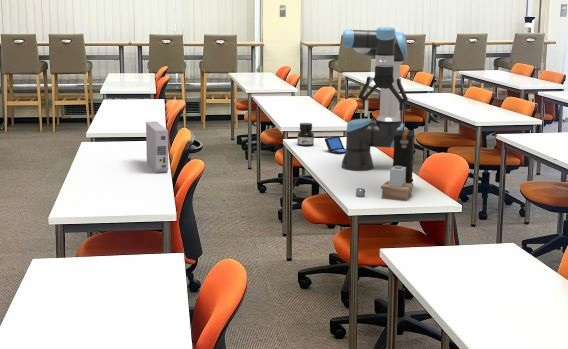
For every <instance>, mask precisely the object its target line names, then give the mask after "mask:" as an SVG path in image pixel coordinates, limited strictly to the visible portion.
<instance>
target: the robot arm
mask: <svg viewBox="0 0 568 349" xmlns="http://www.w3.org/2000/svg"><path fill="white" fill-rule="evenodd" d="M341 40H342V41H341V42H342V47H343V48H348V49H353V50H354V51H355V52H356V53H358V54H361V55H363V56H366V57H371V58H372V57H373V58H375V60H374V63H375V64H374V65H375V67H374V77H373V76H370V75H369V76H367V77H366V82H365V84H364V86H363V87H362V89H361V91H360V93H359V95H358V99H360V100H362V109H364V117H368V116H369V99H368V98H370V96H371V95H372V94H373V93H374V91H376V89H380V95H379V97H380V99H379V115H378V116H377V117H376V118H375V119H376V120H375V122H373V121H372V119H371V118H359V119H358V118H357V119H353V120H350V121H348V122H347V123H346V138H345V139H346V144H345V149H346V153H345V154H343V158H342V160H341V168H342V169H344V170H349V171H369V170H373V169H374V161H373V157H372V154H371V147H372V148H388V149H391V148H392V149H394V136H395V135H396V133H397V131H398V130H404V127H405V124H404V123H402V120H401V112H402V111H403V109H404V103H405V102H407V101H408V100H409V98H408V96H407V93H406V92H405V89H404V87H403V84H402V79H401V77H400V76H401V65H402V64H403V63H404V61H405V59H406V58H408V48H407V46H408V44H407V37H406V34H405V33H404V32H399V31H396V30H395V27H391V26H379V27H377V28H376V29H375V30H374V29H373V30H372V29H368V30H367V29H366V30H365V29H363V30H362V29H345V30H343V32H342V39H341ZM372 82H374V85H373V86H372V87H371V88H370V89H369V91H368V92H367V93H366V91H367V90H368V88H369V86H370V84H371V83H372ZM365 93H366V94H365Z"/></svg>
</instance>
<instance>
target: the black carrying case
mask: <svg viewBox="0 0 568 349" xmlns="http://www.w3.org/2000/svg"><path fill="white" fill-rule="evenodd" d="M415 138H416V135H415V130H414V129H407V128H405V129H403V130H398V131H397V133H396V135H395V136H394V148H393V158H392V160H393V161H392V167H394V166H402V167H406V178H405V181H406V183H413V182H414V178H413V169H414V167H413V166H414V160H415V157H414V152H415Z"/></svg>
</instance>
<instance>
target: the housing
mask: <svg viewBox="0 0 568 349" xmlns="http://www.w3.org/2000/svg"><path fill="white" fill-rule="evenodd" d="M405 178H406V167H402V166H394V167H393V166H392V167H391V168H390V169H389V181H390V184H389V187H398V188H401V187H402V186H403V185H404V184H405V183H406V181H405Z"/></svg>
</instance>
